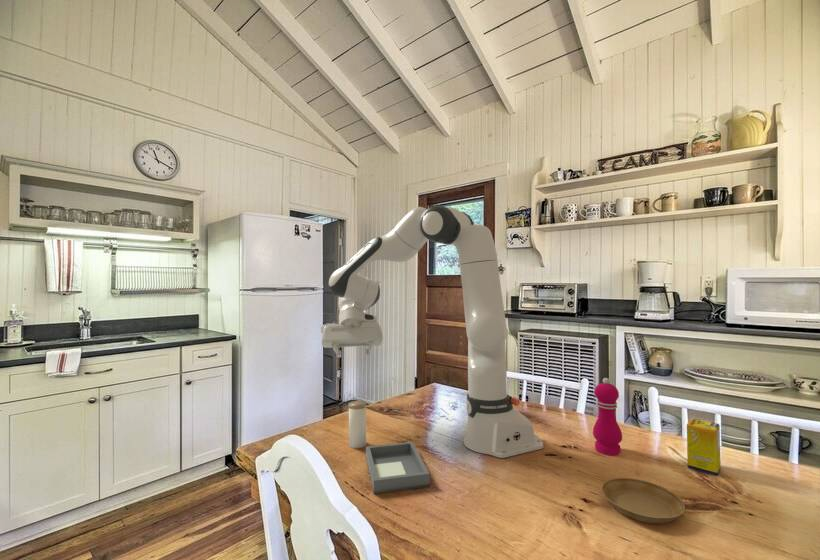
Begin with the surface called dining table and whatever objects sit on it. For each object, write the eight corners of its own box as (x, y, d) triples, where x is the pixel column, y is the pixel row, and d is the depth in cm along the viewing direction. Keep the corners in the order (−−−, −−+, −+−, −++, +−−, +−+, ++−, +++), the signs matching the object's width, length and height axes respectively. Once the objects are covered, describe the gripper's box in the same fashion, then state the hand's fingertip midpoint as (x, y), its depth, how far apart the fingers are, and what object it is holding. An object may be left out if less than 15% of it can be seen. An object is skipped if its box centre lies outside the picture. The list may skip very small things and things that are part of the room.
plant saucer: (585, 498, 82) (585, 486, 82) (631, 483, 88) (631, 471, 88) (653, 540, 68) (653, 526, 69) (702, 518, 74) (701, 505, 74)
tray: (412, 452, 105) (412, 441, 105) (429, 486, 87) (429, 473, 87) (365, 457, 102) (365, 446, 102) (373, 494, 85) (373, 480, 85)
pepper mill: (626, 457, 100) (625, 381, 100) (597, 455, 101) (595, 380, 102) (617, 445, 107) (616, 375, 107) (590, 444, 108) (588, 374, 109)
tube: (365, 440, 114) (365, 400, 114) (367, 447, 109) (367, 405, 109) (348, 441, 113) (347, 401, 113) (349, 449, 108) (348, 407, 108)
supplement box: (691, 459, 98) (690, 417, 98) (721, 467, 94) (720, 423, 94) (686, 468, 94) (685, 424, 94) (717, 476, 90) (716, 430, 90)
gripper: (321, 317, 128) (320, 351, 119) (380, 316, 132) (385, 348, 123) (321, 329, 132) (321, 362, 123) (379, 327, 137) (383, 359, 127)
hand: (353, 355), depth 123 cm, fingers open, 8 cm apart
